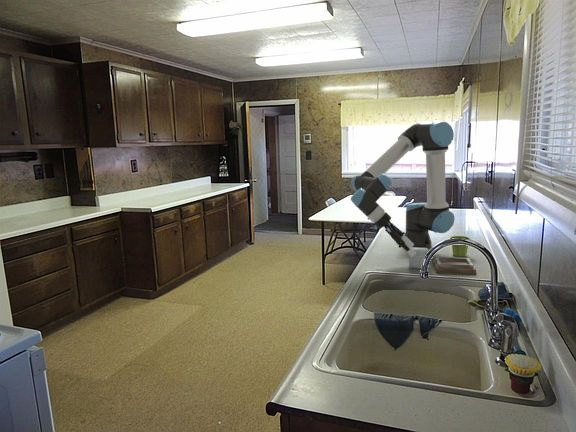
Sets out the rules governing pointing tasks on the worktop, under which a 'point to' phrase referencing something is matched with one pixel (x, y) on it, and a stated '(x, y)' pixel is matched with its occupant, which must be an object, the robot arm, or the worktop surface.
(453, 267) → the walnut stand
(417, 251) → the medicine box
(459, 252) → the plant pot
